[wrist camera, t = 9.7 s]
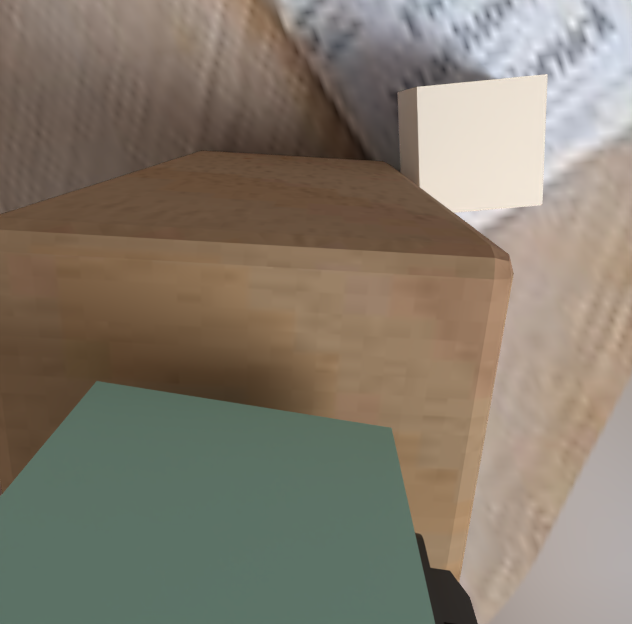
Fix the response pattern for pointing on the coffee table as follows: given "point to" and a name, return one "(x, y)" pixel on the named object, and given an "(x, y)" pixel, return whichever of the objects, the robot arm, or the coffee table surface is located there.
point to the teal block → (208, 518)
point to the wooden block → (263, 309)
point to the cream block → (476, 142)
